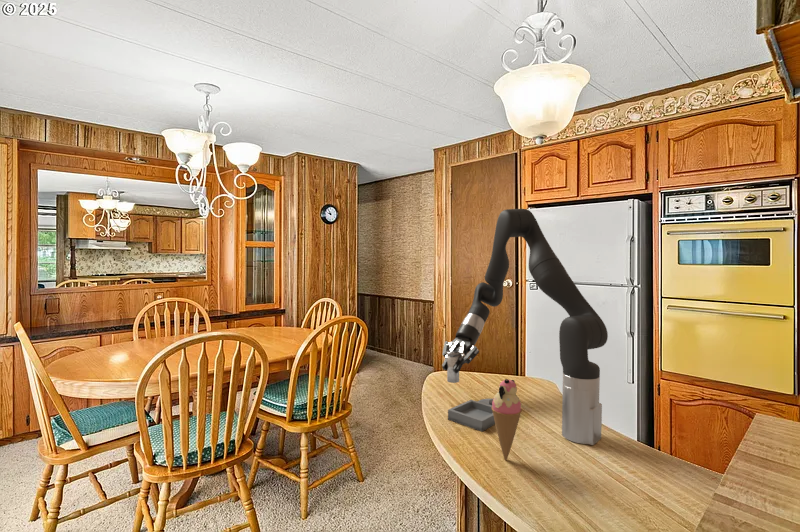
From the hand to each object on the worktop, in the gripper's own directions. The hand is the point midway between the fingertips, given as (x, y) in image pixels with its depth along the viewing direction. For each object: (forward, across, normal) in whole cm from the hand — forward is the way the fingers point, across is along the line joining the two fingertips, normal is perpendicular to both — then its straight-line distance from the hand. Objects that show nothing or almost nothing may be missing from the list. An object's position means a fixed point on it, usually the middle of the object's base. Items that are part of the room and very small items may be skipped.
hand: (449, 370), depth 141 cm
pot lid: (+4, +14, +11) cm, 18 cm away
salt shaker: (+2, 0, +4) cm, 5 cm away
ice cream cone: (+23, +34, -7) cm, 41 cm away
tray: (+12, +15, +4) cm, 19 cm away
